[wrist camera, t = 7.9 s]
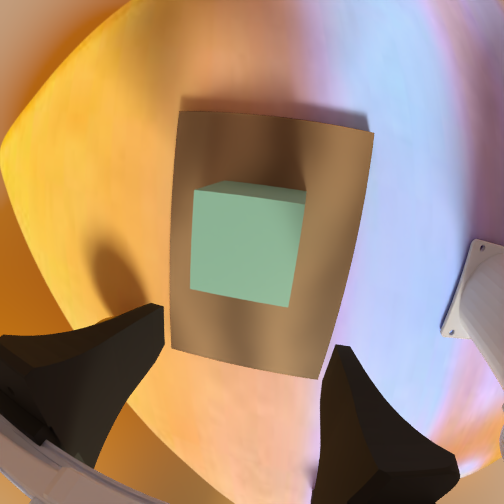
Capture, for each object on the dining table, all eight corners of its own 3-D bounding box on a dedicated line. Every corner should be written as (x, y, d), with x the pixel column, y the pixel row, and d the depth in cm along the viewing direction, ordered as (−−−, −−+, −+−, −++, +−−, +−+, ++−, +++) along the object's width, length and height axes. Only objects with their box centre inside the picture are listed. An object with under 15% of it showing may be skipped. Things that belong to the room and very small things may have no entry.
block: (306, 191, 17) (305, 204, 12) (294, 269, 19) (288, 307, 14) (224, 180, 18) (194, 189, 13) (218, 256, 19) (190, 288, 15)
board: (370, 134, 16) (374, 133, 15) (317, 370, 22) (317, 379, 21) (186, 113, 18) (179, 111, 17) (177, 340, 24) (171, 348, 23)
